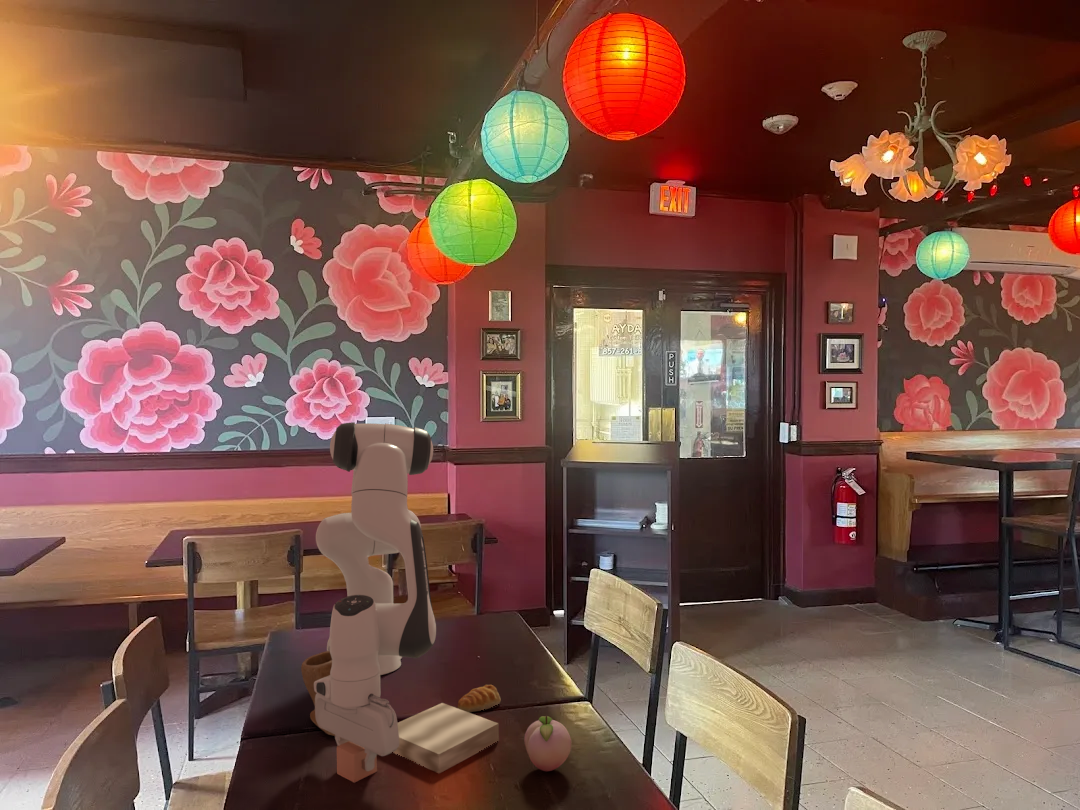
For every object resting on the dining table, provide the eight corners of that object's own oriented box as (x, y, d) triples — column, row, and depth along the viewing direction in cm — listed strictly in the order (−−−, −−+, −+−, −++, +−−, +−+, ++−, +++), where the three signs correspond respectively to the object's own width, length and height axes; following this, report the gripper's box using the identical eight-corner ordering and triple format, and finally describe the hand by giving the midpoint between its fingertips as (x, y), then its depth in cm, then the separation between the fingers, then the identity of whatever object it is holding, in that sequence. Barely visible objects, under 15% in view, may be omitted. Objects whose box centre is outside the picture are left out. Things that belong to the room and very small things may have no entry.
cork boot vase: (295, 721, 162) (293, 650, 161) (350, 707, 168) (348, 639, 168) (318, 748, 149) (317, 672, 149) (376, 732, 156) (375, 659, 155)
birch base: (382, 750, 149) (381, 729, 149) (442, 721, 162) (442, 702, 161) (439, 776, 139) (438, 754, 139) (498, 743, 151) (498, 723, 151)
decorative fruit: (577, 780, 136) (576, 725, 136) (531, 786, 134) (531, 729, 134) (564, 755, 145) (563, 703, 145) (521, 760, 143) (521, 707, 143)
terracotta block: (337, 773, 139) (336, 746, 139) (359, 763, 143) (359, 736, 143) (354, 782, 136) (353, 754, 136) (376, 771, 140) (376, 744, 140)
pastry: (469, 718, 163) (469, 700, 162) (450, 708, 168) (450, 691, 167) (503, 705, 169) (503, 687, 169) (484, 696, 174) (484, 679, 174)
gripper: (407, 697, 135) (408, 774, 135) (336, 670, 148) (337, 741, 148) (378, 709, 130) (379, 789, 131) (308, 680, 143) (309, 753, 144)
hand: (356, 763), depth 140 cm, fingers closed on terracotta block, 5 cm apart
